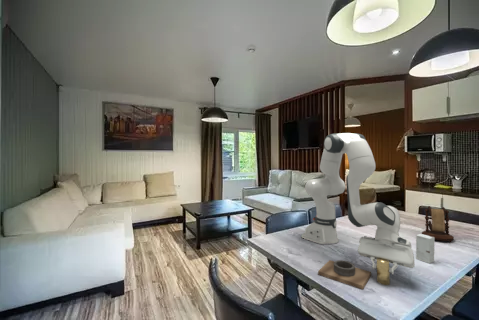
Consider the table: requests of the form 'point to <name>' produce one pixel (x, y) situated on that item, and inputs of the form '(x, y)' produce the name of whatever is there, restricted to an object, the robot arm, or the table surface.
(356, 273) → the ring holder
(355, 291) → the table surface
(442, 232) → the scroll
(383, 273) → the cylinder
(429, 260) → the skincare box
